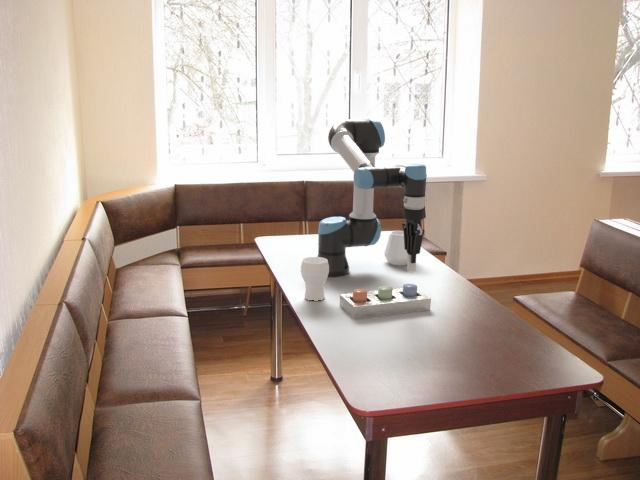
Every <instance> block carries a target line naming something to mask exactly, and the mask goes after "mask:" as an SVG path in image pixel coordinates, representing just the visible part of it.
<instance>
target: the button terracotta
mask: <svg viewBox="0 0 640 480" xmlns="http://www.w3.org/2000/svg"><path fill="white" fill-rule="evenodd" d="M367 292H368V290H366V289H363V288H355V289H353V290H352V293H353V302H354V303H359V302H367Z"/></svg>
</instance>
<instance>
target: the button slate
mask: <svg viewBox="0 0 640 480" xmlns="http://www.w3.org/2000/svg"><path fill="white" fill-rule="evenodd" d="M402 288H403V296H405V297H414V296H417V290H418V285H417V284H414V283H405V284H403V285H402Z"/></svg>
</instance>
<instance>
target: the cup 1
mask: <svg viewBox="0 0 640 480" xmlns="http://www.w3.org/2000/svg"><path fill="white" fill-rule="evenodd" d="M300 273H301V274H300V275H301V277H302V280H303V282H304V285H305V292H304V297H305V298H306V299H309V300H314V301H313V302H319V301H318V300H321V301H323V299H324V298H325V297H326V296H325V291H324V288H325V282H326V281H327V279H328V277H329V276H328V274H329V264H328V260H327V259H325V258H322V257H317V256H308V257H305V258H303V259H302V260H301V265H300ZM305 298H304V299H305ZM306 299H305V300H306ZM309 300H308V301H309ZM324 300H325V299H324Z"/></svg>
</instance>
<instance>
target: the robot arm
mask: <svg viewBox="0 0 640 480" xmlns="http://www.w3.org/2000/svg"><path fill="white" fill-rule="evenodd" d="M385 133H386V132H385V130H384V126H383V124H382V123H381V122H380V121H379V120H378V119H373V118H360V119H355V118H354V119H348V118H347V119H342V120H339V121H337V122H336V123H334V124H333V125H332V127H331V128H330V129H329V131H328V136H327V139H328V144H329V146H330V148H331V149H332V150H333V151H334V152H336V153H338V154H339V156H341V158H342V159H343V160H344V161H345V162H344V163H346V164H347V165H348V168H350V169H351V171H352V172H353V195H352V197H353V198H352V201H353V202H352V211H351V212H350V213H349V215H348V217H349V218H348V219H346V217H344V216H330V217H326V218H324V219H322V220H320V221H319V222H318V223H319V224H318V230H317V231H318V238H317V239H318V243H317V245H318V246H317V247H318V248H317V249H318V250H317V252H318V253H317V256H316V257H322V258H325V259H327V260H328V264H329V274H328V277H334V278H335V277H343V276H346V275H348V274H349V273H350V266H349V263H348V259H347V256H346V255H347V254H346V248H356V247H368V246H375V245H376V244H377V243H378V242H379V240H380V238H381V233H382V226H381V221H380V219H379V218H377V214H375V212H374V194H375V193H374V191H375V189H383V188H385V189H387V188H403V189H404V190H403V199H402V201H403V206H404V208H403V211H402V212H403V213H402V217H403V219H405V222H403V223H402V224H401V225H402V231H403V232H404V247H405V250H407V253H408V259H407V266H406V271H407V272H411V273H412V272H416V269H417V267H416V266H417V255H419V254H420V253H421V248H422V243H423V236H424V235H425V229H422V228H421V227H422V222H421V221H422V220H423V219H424V218H425V210H426V209H425V206H426V191H427V190H426V189H427V188H426V187H427V167H426V165H425V164H422V163H408V164H407V163H406V165H402V164H400V165H399V164H396V165H394V166H382V167H381V166H380V167H379V166H378V167H376V156H377V155H378V154H379V153H380V148H382V147H383V146H384V145H385V141H386V134H385Z"/></svg>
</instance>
